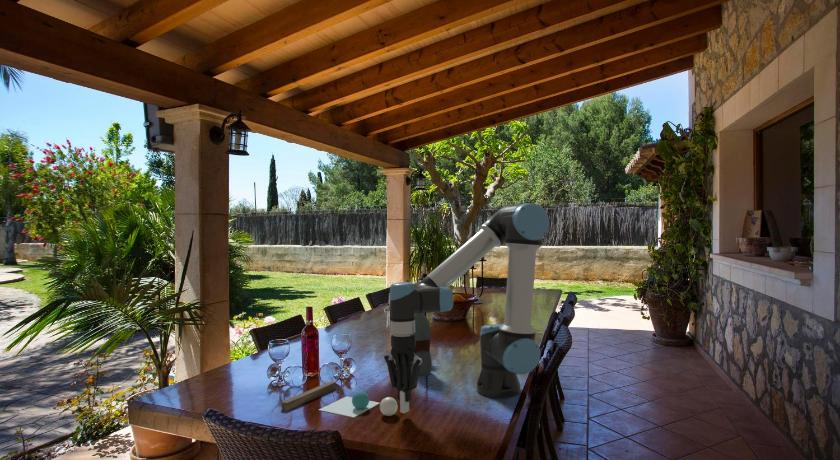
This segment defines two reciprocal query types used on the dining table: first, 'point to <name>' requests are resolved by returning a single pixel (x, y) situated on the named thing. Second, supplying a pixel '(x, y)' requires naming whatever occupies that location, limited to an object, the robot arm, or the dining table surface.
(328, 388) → the bar
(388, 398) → the cue ball
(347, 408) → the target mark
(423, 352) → the bottle
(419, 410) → the dining table surface
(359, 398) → the teal ball
